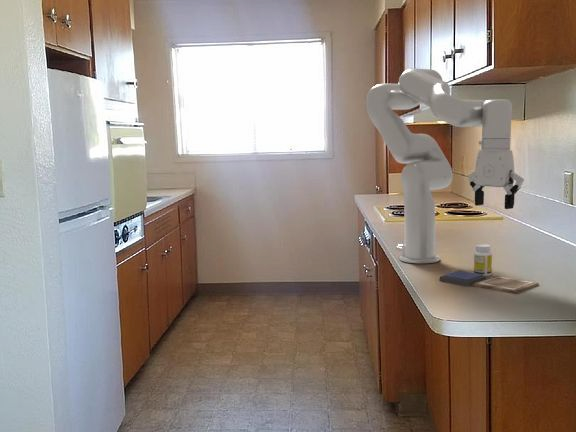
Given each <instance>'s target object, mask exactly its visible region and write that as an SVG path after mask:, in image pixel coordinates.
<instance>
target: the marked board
mask: <svg viewBox="0 0 576 432" xmlns="http://www.w3.org/2000/svg"><path fill="white" fill-rule="evenodd" d="M539 284H540V283H539V282H535V281H530V280H525V279H519V278H512V277H507V276H500V275H495V276H492V277H489V278H488V277H487V279H485V280H482V281H479V282H476V283H473V285H472V286H473V287H480V288H483V289H489V290H495V291H498V292H500V291H501V292H505V293H509V294H515V295H516V294H518V293H521V292H523V291H527V290H529V289H531V288H534V287H537V286H539Z"/></svg>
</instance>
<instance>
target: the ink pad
mask: <svg viewBox="0 0 576 432" xmlns="http://www.w3.org/2000/svg"><path fill="white" fill-rule="evenodd" d="M485 279H488V276H484V275H482V274H477V273H474V272H469V271H464V270H455V271H453V272H452V271H451V272H449V273H446V274H443V275H440V276H439V282H444V283H450V284H455V285H460V286H465V287H470V286H473V283H476V282H479V281H482V280H485Z"/></svg>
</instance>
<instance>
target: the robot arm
mask: <svg viewBox="0 0 576 432" xmlns="http://www.w3.org/2000/svg"><path fill="white" fill-rule="evenodd" d="M365 104H366V112H367V114H368V116H369V119H370V120H371V122H372V124H373V125H374V126H375V128H376V129H377V131H378V132H379V134H380V137H381V138H382V139H383V141H384V143H385V144H386V147H387V148H388V151H389V152H390V154H391V155H392V157H393V159H394V160H395V161H396V163H399V164H405V166H404V167H403V168H402V171H401V174H400V180H401V181H400V182H401V185H402V191H403V201H404V203H403V204H404V206H403V207H404V209H403V210H404V211H403V212H404V217H403V218H404V229H403V230H404V234H403V235H404V236H403V237H404V242H403V243H404V244H399V243H398V244H397V246H396V247H395V251H398V252H401V254H400V255H399V260H400V261H402V262H404V263H409V264H433V263H434V264H435V263H437V262H439V261H440V259H441V258H440V257H441V256H440V255H438V254H436V253H435V251H436V247H435V246H436V245H435V244H436V243H435V242H436V204H435V200H434V198H433V195H432V193H431V191H435V190H436V191H437V190H442V189H445V188H447V187H449V186H450V185H451V184H452V181H453V177H454V176H453V175H454V174H453V169H452V167H451V164H450V163H449V161H448V159H447V158H446V156H445V154H444V152H443V151H442V149H441V147H440V146H439V144H438V142H437V141H436V139H435V138H433V137H432V136H430V135H429V134H427V133H413V132H411V131H410V130H409V128H408V127H407V125H406V123H405V121H404V120H403V118H401V117H400V115H398V114H397V113H395V112H394V111H407V110H411V109H413V108H415V107H418V106H420V105H421V104H424V105H425V106H427V107H429V109H430V112H431V113H432V114H433V115H434V116H435V117H436V118H438V119H439V120H441V121H443V122H444V123H446V124H449V125H450V126H454V127H457V128H458V127H459V128H467V127H468V128H469V127H470V128H471V127H472V128H478V127H479V128H480V127H481V140H479V141H478V145H479V146H480V147H481V148H480V149H479V150H478V152H477V155H476V156H477V157H476V159H475V168H474V171H473V172H471V173H470V174H468V175H467V178H468V182H469V186H470V187H471V188H472V191H473V192H474V206H477V207H478V206H483V205H484V204H485V203H484V202H485V201H484V200H485V191H484V188H485V187H489V188H490V187H492V188H503V190H504V191H505V193H506V194H505V195H504V209H505V210H511V209H514V207H515V195H516V194H517V193H518V192H519V190H520V189H521V188H522V187H521V186H523V184H524V180H525V178H523V177H521V175H519V174H518V173H515V161H514V155H513V154H514V153H513V150H511V138H512V116H513V115H512V111H513V105H512V102H511V100H510V99H502V98H501V99H500V98H499V99H487V100H485V99H461V98H457V97H455V96H453V95H451V86H450V85H449V83H447V82H446V81H444V80H443V78H442V76H441V74H440V73H439V72H438V71H437V70H434V69H430V68H427V69H426V68H409V69H407V70H404V71H403V72H402V74H401V75H400V76H399V78H398V83H380V84H379V83H378V84H376V85H375V86H373V87H371V88H370V89H369V91H368V93H367V96H366V103H365ZM514 183H515V184H514Z"/></svg>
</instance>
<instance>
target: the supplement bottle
mask: <svg viewBox="0 0 576 432" xmlns="http://www.w3.org/2000/svg"><path fill="white" fill-rule="evenodd" d="M473 255H474V256H473V261H474V262H473V264H474V265H473V273H477V274H482V275H484V276H487V277H489V276H491V275H492V273H493V272H492V271H493V269H492V267H493V265H492V261H493V259H492V258H493V257H492V256H493V254H492V252H491V245H490V244H479V243H478V244H476V245H475V251H474V254H473Z"/></svg>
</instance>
